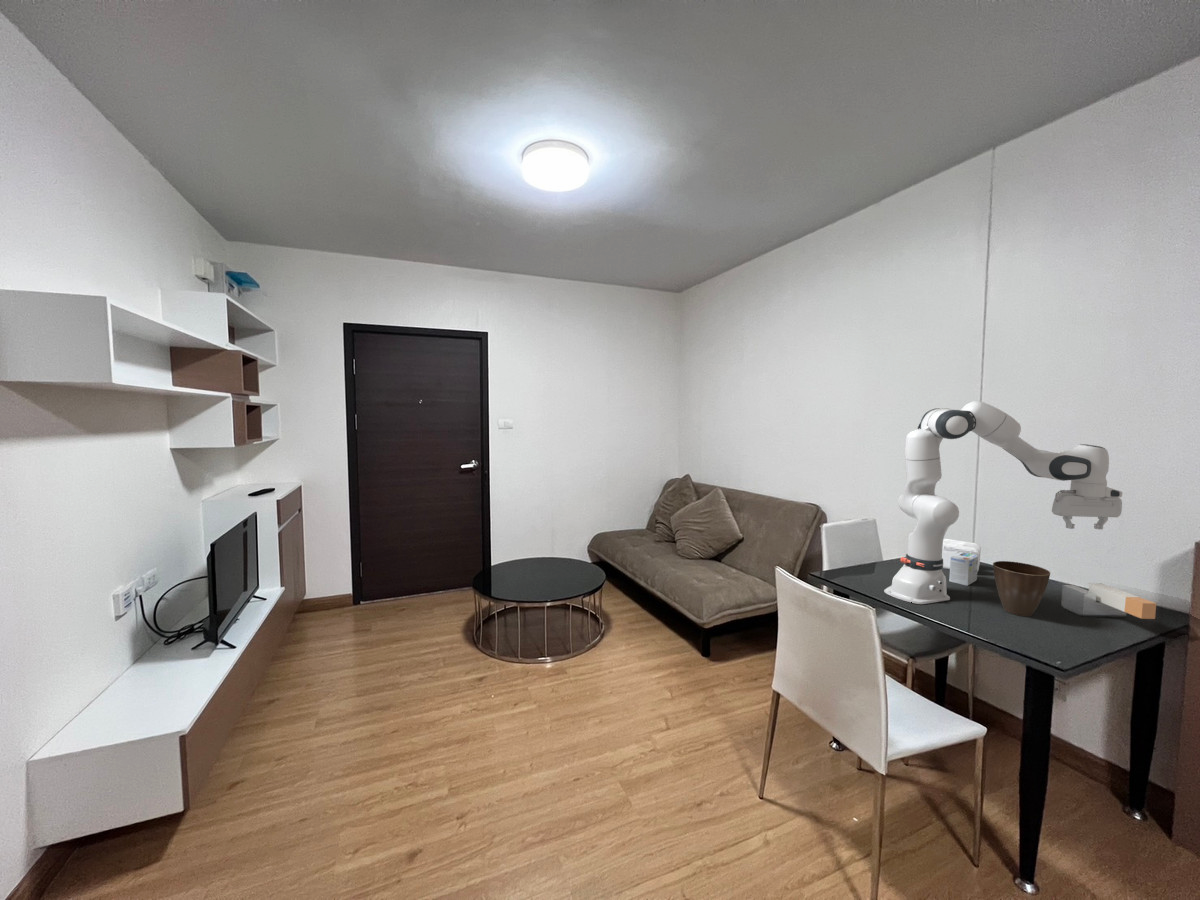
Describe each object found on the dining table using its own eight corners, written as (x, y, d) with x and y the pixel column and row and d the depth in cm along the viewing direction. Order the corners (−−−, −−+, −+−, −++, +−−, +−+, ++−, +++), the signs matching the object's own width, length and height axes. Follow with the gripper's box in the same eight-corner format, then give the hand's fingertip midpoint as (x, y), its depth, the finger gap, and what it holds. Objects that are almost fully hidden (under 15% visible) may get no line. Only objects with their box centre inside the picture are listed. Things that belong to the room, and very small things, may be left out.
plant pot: (988, 600, 175) (990, 558, 173) (1042, 609, 166) (1045, 565, 165) (992, 614, 162) (995, 569, 161) (1051, 625, 154) (1055, 578, 153)
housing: (1061, 606, 168) (1062, 585, 168) (1102, 607, 168) (1104, 585, 167) (1082, 616, 160) (1084, 593, 160) (1126, 617, 160) (1128, 594, 159)
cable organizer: (981, 570, 207) (983, 544, 206) (977, 575, 200) (979, 549, 199) (940, 562, 218) (942, 537, 217) (935, 567, 211) (936, 542, 210)
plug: (1088, 597, 164) (1089, 583, 163) (1100, 597, 163) (1101, 583, 163) (1141, 618, 147) (1142, 603, 146) (1154, 618, 146) (1156, 603, 146)
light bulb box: (958, 575, 200) (959, 551, 199) (977, 580, 195) (979, 555, 194) (948, 581, 194) (949, 556, 193) (968, 586, 188) (969, 560, 187)
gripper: (1064, 491, 163) (1060, 530, 164) (1128, 492, 161) (1123, 531, 163) (1048, 488, 169) (1045, 525, 171) (1109, 489, 168) (1105, 527, 169)
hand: (1084, 528), depth 167 cm, fingers open, 8 cm apart
